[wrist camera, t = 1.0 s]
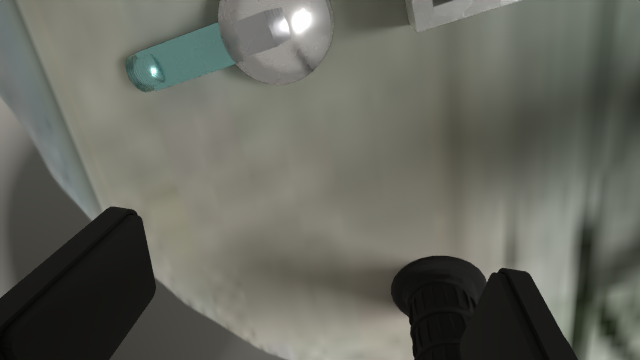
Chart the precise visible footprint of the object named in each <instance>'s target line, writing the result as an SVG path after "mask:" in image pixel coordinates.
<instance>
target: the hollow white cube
mask: <svg viewBox="0 0 640 360" xmlns="http://www.w3.org/2000/svg"><path fill="white" fill-rule="evenodd" d="M517 1H520V0H405V3H406V9H407V14H408V20H409V25H410V26H411V27H412V28H413V29H414V30H415V31H416V32H417V33H418V32H421V31H424V30H428V29H431V28H434V27H437V26H440V25H444V24H447V23H450V22H453V21H456V20H460V19H463V18H466V17H469V16H472V15H475V14H479V13H482V12H485V11H488V10H491V9H495V8H498V7H501V6H504V5H507V4H511V3H514V2H517Z"/></svg>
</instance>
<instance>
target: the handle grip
mask: <svg viewBox="0 0 640 360" xmlns="http://www.w3.org/2000/svg"><path fill="white" fill-rule="evenodd" d="M486 284H487V282H486V279H485V276H484V275H483V274H482V273H481V271H480V270H479V269H478V268H477V267H475V266H474V265H472V264H471V263H469V262H467V261H464V260H462V259H459V258H454V257H448V256H432V257H427V258H422V259H419V260H417V261H414V262H412V263H410V264H408V265H407V266H406V267H404V268H403V269H401V270H400V272H399V273H398V274H397V275H396V276H395V278H394V281H393V283H392V286H391V294H392V297H393V301H394V302H395V304H396V305H397V307H398V308H399V309H400V310H401V311H402V312H403V313H404V314H405V315H407V316H408V317H409V323H410V325H411V331H410V335H411V338H412V342H413V346H412V348H413V356H414V358H415V359H414V360H462V357H461V352H460V341H461V338H462V335H463V333H464V331H465V329H466V327H467V325H468V323H469V320H470V318H471V316H472V314H473V312H474V310H475V307H476V305H477V303H478V301H479V299H480V297H481V295H482V292H483V290H484V288H485V286H486Z"/></svg>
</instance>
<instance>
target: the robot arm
mask: <svg viewBox="0 0 640 360" xmlns="http://www.w3.org/2000/svg"><path fill="white" fill-rule="evenodd" d="M155 290H156V284H155V279H154V274H153V269H152V264H151V260H150V255H149V250H148V245H147V240H146V235H145V231H144V226H143V221H142V218H141V217H140V216H138V215H137V213H136V211H135V210H132V209H126V208H120V207H109V208H108V209H106V210H105V211H104V212H103V213H101V214H100V215H99V216H98V217H97V218H95V219H94V220H93V221H92V222H91V223H90V224H88V225H87V226H86V227H85V228H84V229H82V230H81V231H80V232H79V233H78V234H76V235H75V236H74V237H73V238H72V239H70V240H69V241H68V242H67V243H66V244H64V245H63V246H62V247H61V248H60V249H58V250H57V251H56V252H55V253H54V254H52V255H51V256H50V257H49V258H48V259H46V260H45V261H44V262H43V263H42V264H40V265H39V266H38V267H37V268H36V269H34V270H33V271H32V272H31V273H30V274H29V275H27V276H26V277H25V278H24V279H23V280H21V281H20V282H19V283H18V284H17V285H15V286H14V287H13V288H12V289H11V290H10V291H8V292H7V293H6V294H5V295H3V296H2V297H1V298H0V360H109V359H110V358H111V356H112V355H113V354H114V352H115V351H116V349H117V348H118V346H119V345H120V344H121V342H122V341H123V339H124V338H125V337H126V335H127V334H128V332H129V331H130V329H131V328H132V327H133V325H134V324H135V322H136V321H137V320H138V318H139V317H140V315H141V314H142V312H143V311H144V310H145V308H146V307H147V305H148V304H149V303H150V301H151V300H152V298H153V296H154V294H155ZM460 352H461V357H462V360H578V359H577V357H576V355H575V354H574V352H573V350H572V348H571V346H570V344H569V343H568V341H567V340H566V338H565V337H564V336H563V334H562V332H561V330H560V328H559V327H558V325H557V323H556V321H555V319H554V317H553V316H552V314H551V312H550V310H549V308H548V306H547V305H546V303H545V301H544V299H543V297H542V295H541V294H540V292H539V290H538V288H537V286H536V285H535V283H534V281H533V279H532V277H531V276H530V274H529V273H527V272H526V271H519V270H513V269H507V268H501V269H500V270H499V271H498V273H492V274H491V275H490V277H489V279H488V282H487V284H486V286H485V288H484V290H483V292H482V295H481V297H480V299H479V301H478V303H477V305H476V307H475V310H474V312H473V314H472V316H471V318H470V320H469V323H468V325H467V327H466V329H465V331H464V333H463V335H462V338H461V341H460Z"/></svg>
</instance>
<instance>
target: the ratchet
mask: <svg viewBox="0 0 640 360" xmlns="http://www.w3.org/2000/svg"><path fill="white" fill-rule="evenodd" d="M333 29H334V18H333V11H332V6H331V3H330V0H220V4H219V11H218V22H217V23H214V24H212V25H209V26H206V27H204V28H201V29H198V30H196V31H193V32H190V33H188V34H185V35H182V36H180V37H177V38H174V39H172V40H169V41H166V42H164V43H161V44H158V45H156V46H153V47H150V48H148V49H145V50H142V51H140V52H137V53H136V54H134V55H131V56H129V57H128V58H127V59H126V63H125V66H126V71H127V74H128V76H129V78H130V80H131V82H132V83H133V84H134V85H135V86H136V87H137V88H138V89H139V90H141V91H143V92H151V91H154V90H155V91H157V90H160V89H163V88H166V87H169V86H172V85H175V84H178V83H181V82H184V81H187V80H190V79H193V78H196V77H199V76H202V75H204V74H207V73H210V72H213V71H216V70H219V69H222V68H225V67H228V66H231V65H234V64H236V65H237V66H238V67H239V68H240V69H241V70H242V71H243V72H245V73H246V74H247V75H249V76H250V77H252V78H254V79H256V80H258V81H261V82H264V83H268V84H274V85H282V84H289V83H293V82H296V81H298V80H301V79H302V78H304V77H306V76H307V75H308V74H310V73H311V72H312V71H313V70H314V69H315V68H316V67H317V65H318V64H319V63H320V62H321V60H322V59H323V57H324V56H325V54H326V52H327V50H328V48H329V46H330V43H331V40H332V36H333Z"/></svg>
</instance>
